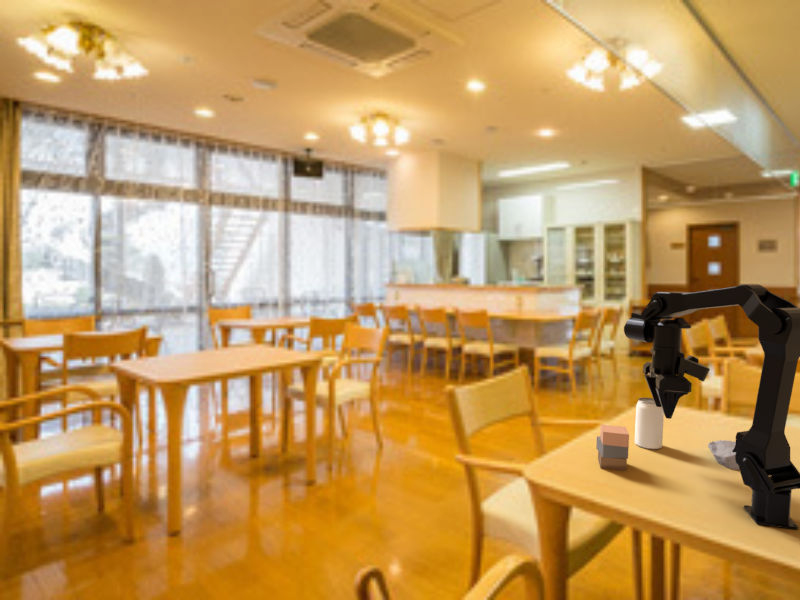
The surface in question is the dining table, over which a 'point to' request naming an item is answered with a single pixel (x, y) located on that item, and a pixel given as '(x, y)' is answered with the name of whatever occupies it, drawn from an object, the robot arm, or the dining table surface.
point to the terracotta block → (614, 435)
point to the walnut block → (612, 463)
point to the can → (649, 424)
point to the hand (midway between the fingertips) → (663, 412)
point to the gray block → (611, 450)
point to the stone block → (724, 453)
